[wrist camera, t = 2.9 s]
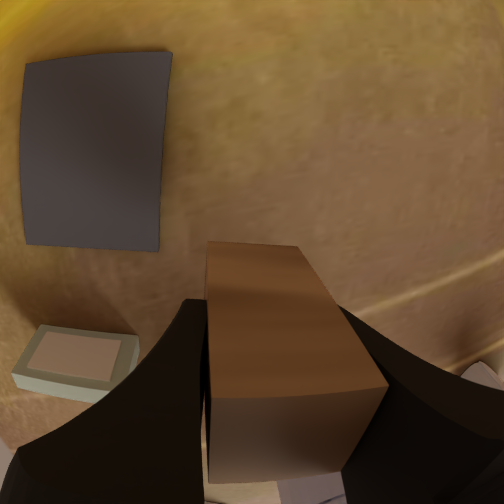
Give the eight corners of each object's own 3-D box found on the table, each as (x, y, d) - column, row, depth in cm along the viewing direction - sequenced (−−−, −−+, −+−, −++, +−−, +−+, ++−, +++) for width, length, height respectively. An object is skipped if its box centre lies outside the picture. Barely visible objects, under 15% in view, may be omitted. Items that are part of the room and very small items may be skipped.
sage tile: (139, 349, 19) (127, 407, 15) (45, 337, 18) (17, 387, 14) (138, 332, 19) (123, 390, 14) (40, 321, 18) (10, 370, 13)
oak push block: (284, 320, 13) (340, 471, 6) (203, 319, 12) (208, 483, 6) (297, 246, 12) (389, 385, 5) (207, 241, 11) (211, 397, 5)
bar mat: (159, 248, 17) (158, 252, 16) (30, 241, 15) (26, 244, 15) (172, 53, 13) (171, 51, 12) (30, 65, 12) (25, 64, 11)
